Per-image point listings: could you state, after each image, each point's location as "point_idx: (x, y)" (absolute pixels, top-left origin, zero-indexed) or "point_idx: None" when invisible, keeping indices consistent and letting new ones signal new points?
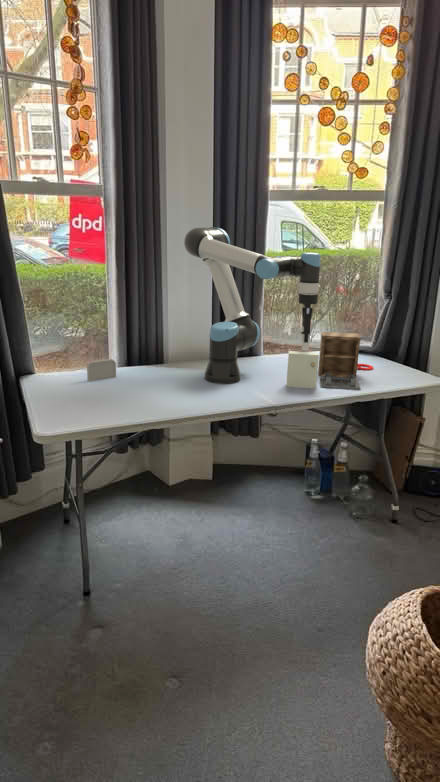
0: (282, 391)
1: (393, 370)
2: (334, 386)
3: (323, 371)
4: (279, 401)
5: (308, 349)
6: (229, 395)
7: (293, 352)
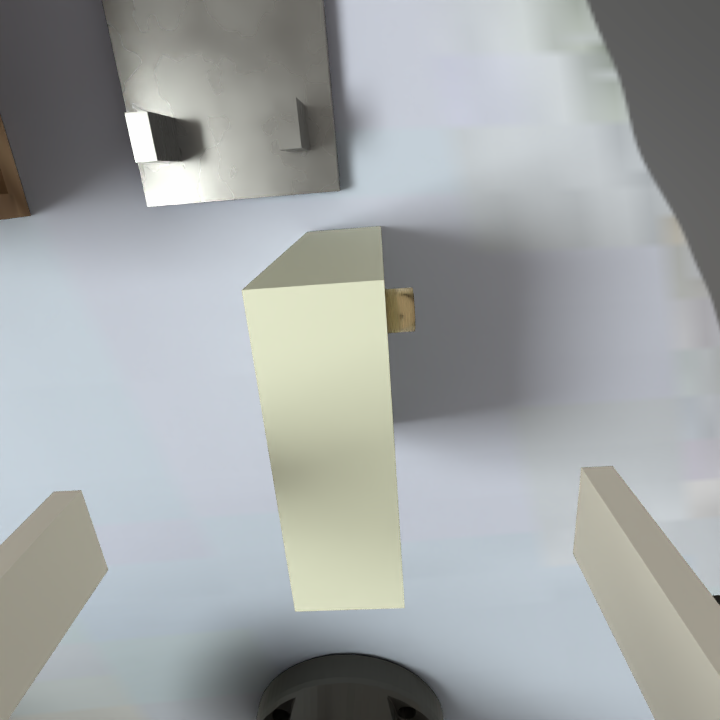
0: (506, 438)
1: None
2: (329, 67)
3: None
4: (712, 440)
5: (617, 479)
6: (626, 665)
7: (342, 568)
